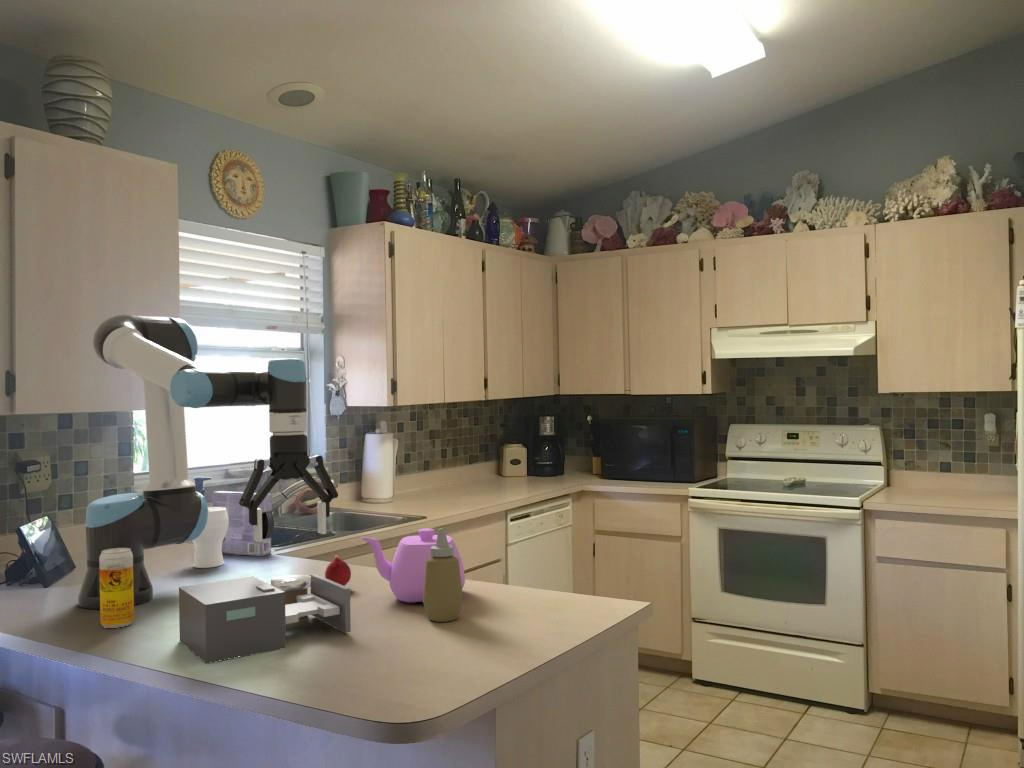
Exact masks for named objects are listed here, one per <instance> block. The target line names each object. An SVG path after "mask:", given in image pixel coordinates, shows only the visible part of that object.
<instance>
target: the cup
mask: <svg viewBox="0 0 1024 768" xmlns="http://www.w3.org/2000/svg"><path fill="white" fill-rule="evenodd" d="M228 525H229V522H228V514H227V510H226V508H225V507H213V506H208V519H207V523H206V526H205V528H204V530H203V531H202V533H201V534H200V536H199V537H197V538H196V539H194V540H191V541H192V543H193V549H194V556H193V564H192V566H193V567H194V568H200V569H205V568H207V569H208V568H215V567H219V566H220V567H221V566H222V565H224V563H225V562H224V557H223V553H222V551H221V550H222V542H223V539H224V537H225V535H226V533H227V529H228Z"/></svg>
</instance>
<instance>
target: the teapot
mask: <svg viewBox="0 0 1024 768" xmlns="http://www.w3.org/2000/svg"><path fill="white" fill-rule="evenodd" d="M435 531H436V530H435V529H433V528H431V527H430V528H427V527H426V528H420V529H418V530H417V532H418V533H417V534H418V535H408V536H405V537H402V538H401V539H400V541H399V543H398V545H397V548H396V550H395V553H394V556H393V559H392V561H391V562H390V561H389V560H387V559H386V558H385V556H384V553H383V550H382V545H381V543H380V541H379V540H378V539H376V538H375V537H366V536H360V539H362V540H363V541H365V542H366V543H368V545H369V546H370V548H371V549H372V552H373V556H374V563H375V566H376V570H377V571H378V573H379V575H380V576H381V577H382V578H383V579H384V580H385V581H388V582H389V587H390V591H392V594H393V595H394V597H395V598H396V599H397V600H398V601H401V602H404V603H405V602H407V603H406V604H415V603H414V602H417V603H420V602H422V603H423V592H424V580H425V567H426V560H427V559H428V558H430V557H432V556H431V554H430V548H431V547H432V546H436V541H437V535H438V534H435ZM446 537H447V541H448V545H451V546H453V547H454V554H453V555H452V556H455V557H456V558H457V559H458V560H459V568H460V576H461V585H462V589H463V588H464V585H465V583H466V582H465V581H466V576H465V568H464V564H463V560H462V557H461V555H460V552H459V550H458V547H457V545H456V542H455V541H454V539H453V538H452V536H450V535H447V534H446Z"/></svg>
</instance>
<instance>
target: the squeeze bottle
mask: <svg viewBox="0 0 1024 768" xmlns="http://www.w3.org/2000/svg"><path fill="white" fill-rule="evenodd" d="M436 535H437V541H436V546H432V547H431V548H430V554H431V556H432V557H430V558H428V559H427V560H426V567H425V580H424V592H423V602H422V603H423V605H424V609H425V612H426V614H427V617H428V620H429V621H432V622H437V623H441V622H442V623H444V622H445V623H446V622H451V621H452V622H453V621H455V620H457V619H458V618H459V615H460V614H461V609H462V606H463V602H464V594H463V588H462V585H461V576H460V568H459V560H458V559H457V558H456V557H455V556H452V555H453V554H454V547H453V546H451V545H448V541H447V537H446V535H447V534H446V529H445V528H444V527H443V528H438V530H437V534H436Z"/></svg>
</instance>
